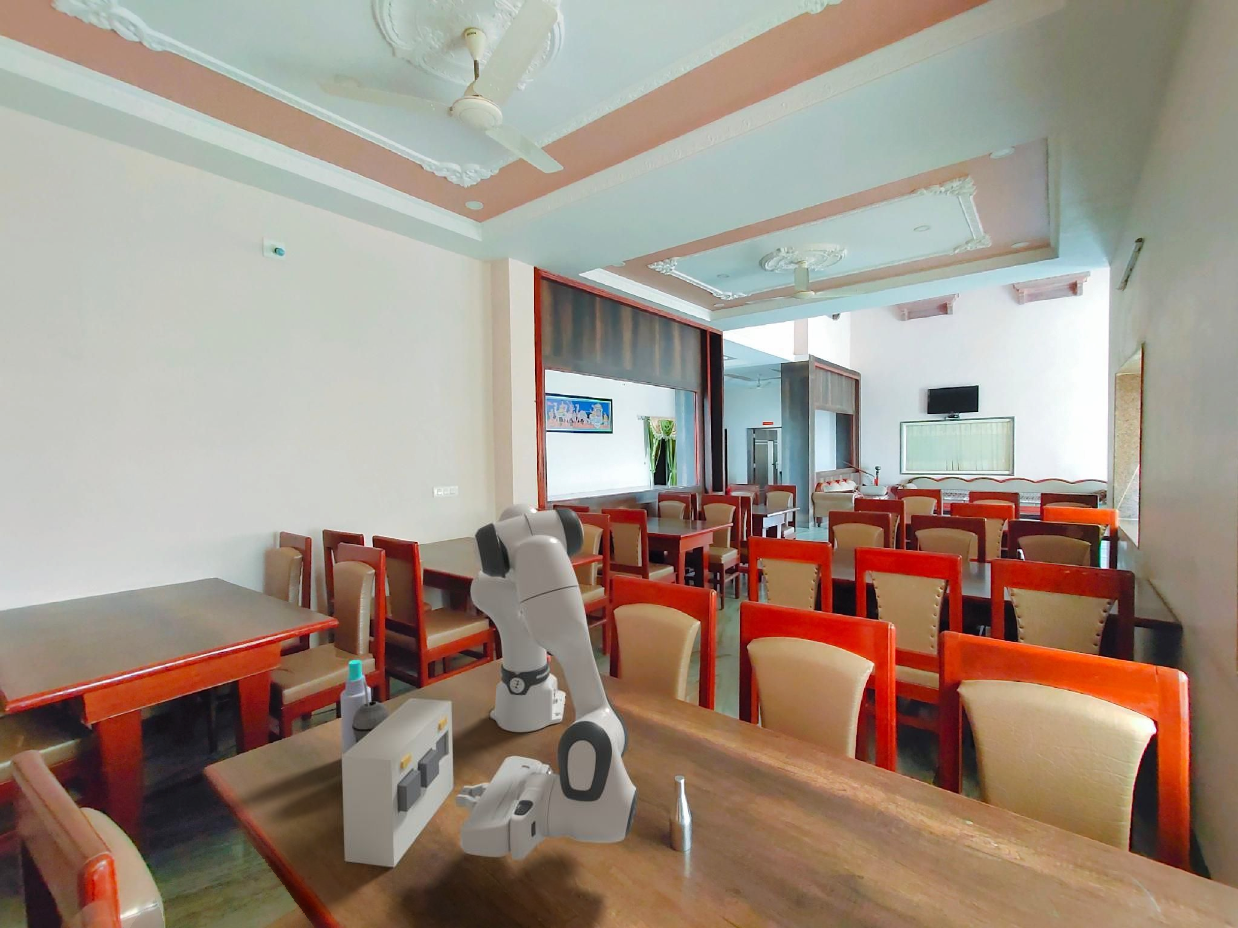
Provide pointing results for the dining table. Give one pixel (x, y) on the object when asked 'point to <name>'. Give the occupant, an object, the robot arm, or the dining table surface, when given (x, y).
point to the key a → (409, 790)
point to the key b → (441, 746)
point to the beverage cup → (368, 717)
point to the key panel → (393, 781)
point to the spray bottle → (352, 703)
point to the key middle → (429, 767)
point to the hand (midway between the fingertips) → (459, 795)
